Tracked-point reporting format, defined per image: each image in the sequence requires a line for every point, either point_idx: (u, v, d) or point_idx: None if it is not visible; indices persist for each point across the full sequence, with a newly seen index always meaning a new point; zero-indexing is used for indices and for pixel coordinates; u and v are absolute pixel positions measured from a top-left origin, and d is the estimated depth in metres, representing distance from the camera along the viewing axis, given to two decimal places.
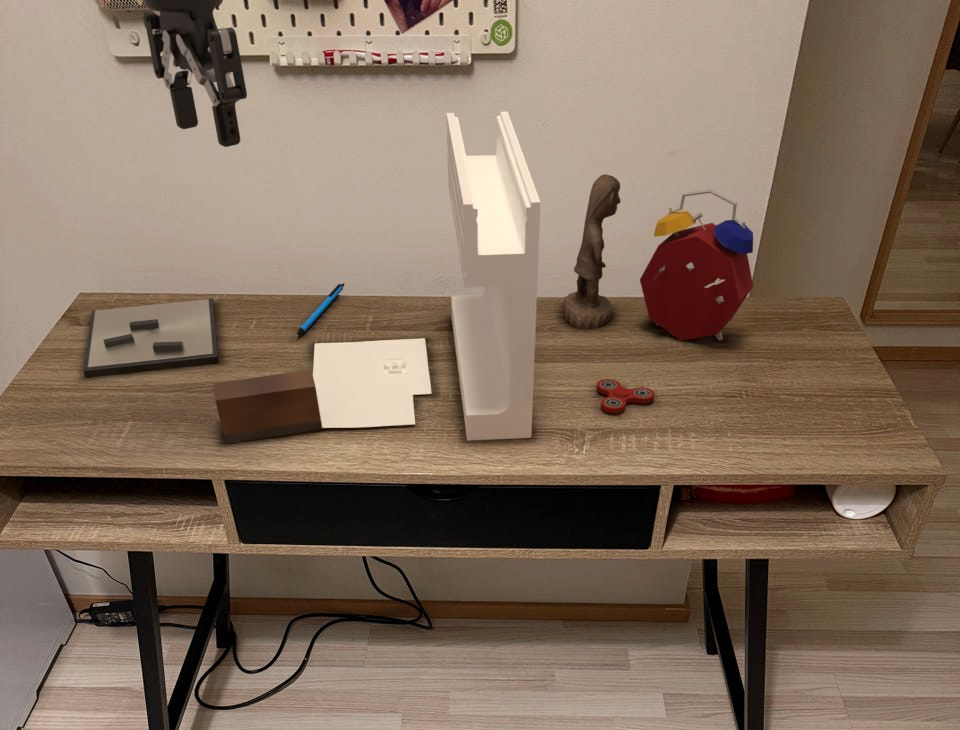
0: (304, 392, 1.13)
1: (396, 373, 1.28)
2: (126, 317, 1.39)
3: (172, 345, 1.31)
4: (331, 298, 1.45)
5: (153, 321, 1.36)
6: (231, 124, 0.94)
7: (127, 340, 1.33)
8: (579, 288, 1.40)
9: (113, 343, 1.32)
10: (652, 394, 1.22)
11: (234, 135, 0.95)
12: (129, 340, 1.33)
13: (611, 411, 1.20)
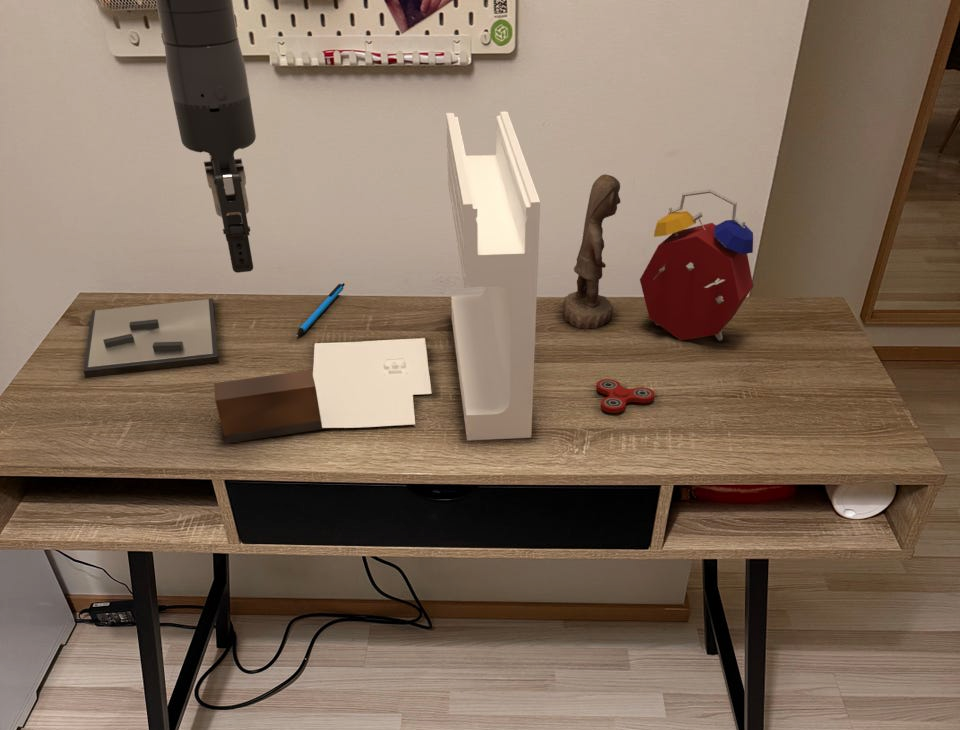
0: (304, 392, 1.14)
1: (396, 373, 1.28)
2: (126, 317, 1.39)
3: (172, 345, 1.31)
4: (331, 298, 1.45)
5: (153, 321, 1.36)
6: (240, 254, 0.99)
7: (127, 340, 1.33)
8: (579, 288, 1.40)
9: (113, 343, 1.32)
10: (652, 394, 1.22)
11: (243, 264, 1.00)
12: (129, 340, 1.33)
13: (611, 411, 1.20)
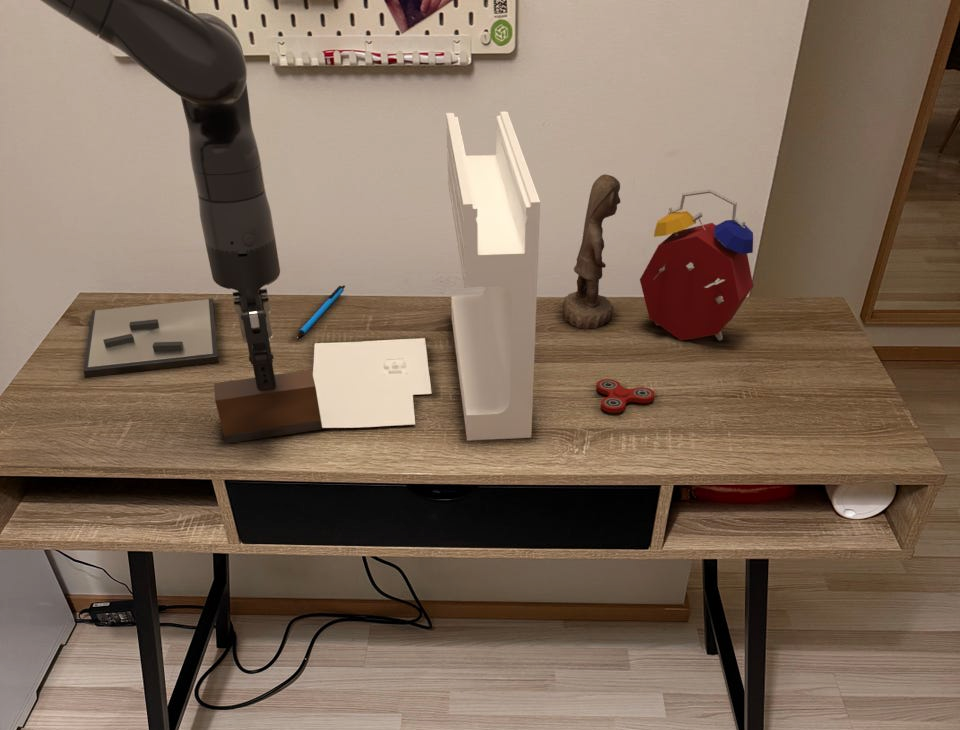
0: (304, 392, 1.13)
1: (396, 373, 1.28)
2: (126, 317, 1.39)
3: (172, 345, 1.31)
4: (331, 300, 1.45)
5: (153, 321, 1.36)
6: (264, 376, 1.08)
7: (127, 340, 1.33)
8: (579, 288, 1.40)
9: (113, 343, 1.32)
10: (652, 394, 1.22)
11: (266, 385, 1.09)
12: (129, 340, 1.33)
13: (611, 411, 1.20)
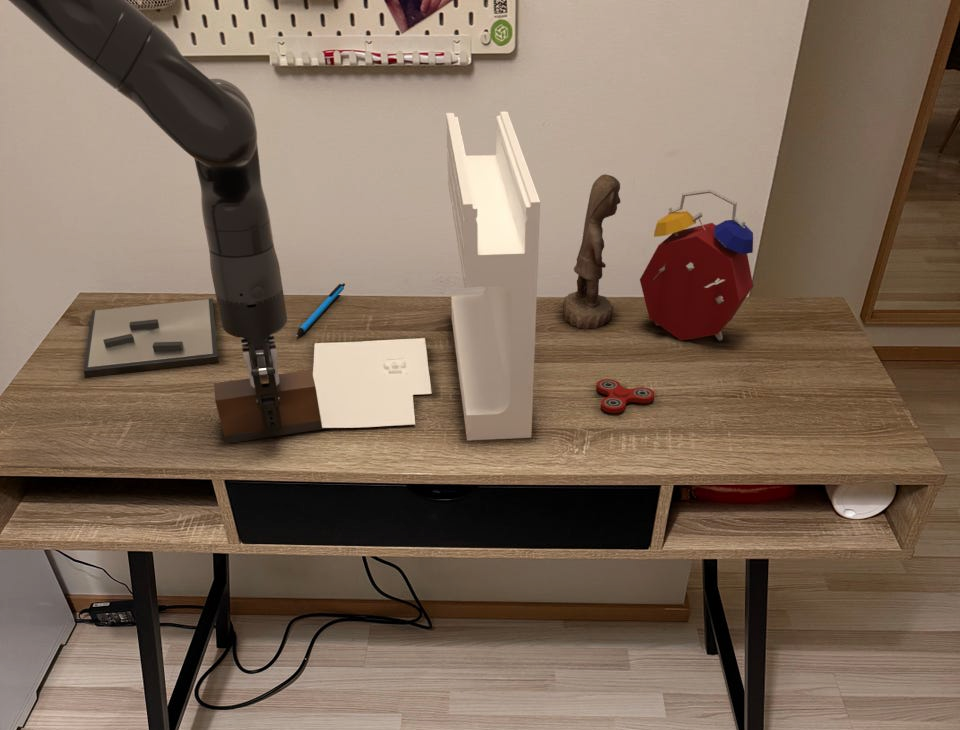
0: (304, 392, 1.13)
1: (396, 373, 1.28)
2: (126, 317, 1.39)
3: (172, 345, 1.31)
4: (331, 298, 1.45)
5: (153, 321, 1.36)
6: (271, 419, 1.13)
7: (127, 340, 1.33)
8: (579, 288, 1.40)
9: (113, 343, 1.32)
10: (652, 394, 1.22)
11: (273, 427, 1.14)
12: (129, 340, 1.33)
13: (611, 411, 1.20)
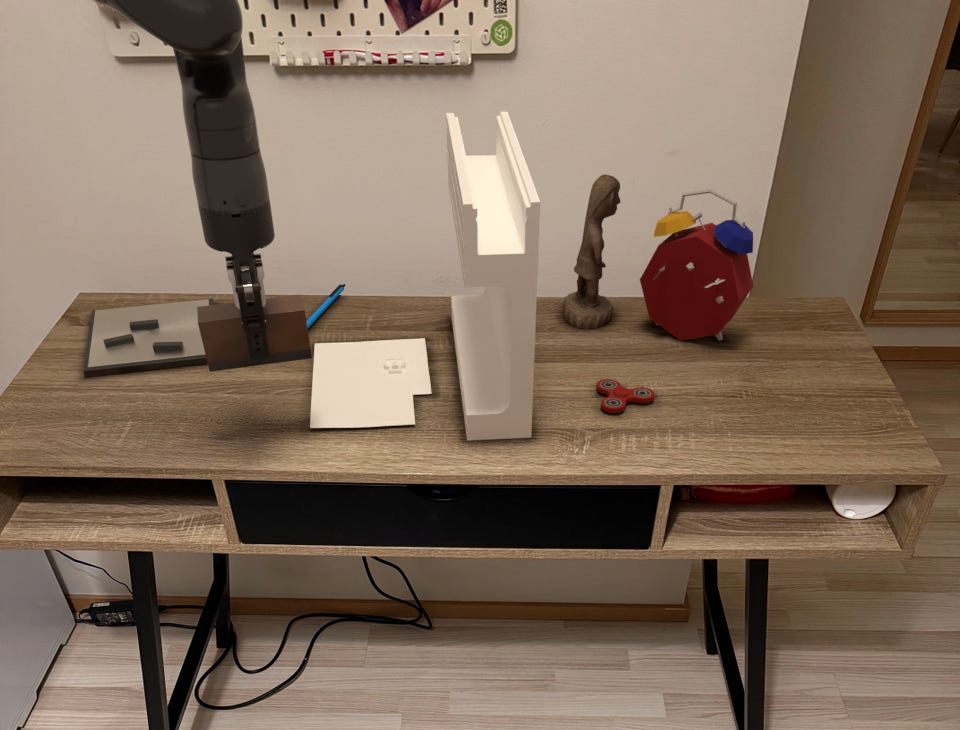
0: (293, 317, 1.07)
1: (396, 373, 1.28)
2: (126, 317, 1.39)
3: (172, 345, 1.31)
4: (332, 299, 1.45)
5: (153, 321, 1.36)
6: (257, 344, 1.07)
7: (127, 340, 1.33)
8: (579, 288, 1.40)
9: (113, 343, 1.32)
10: (652, 394, 1.22)
11: (259, 353, 1.07)
12: (129, 340, 1.33)
13: (611, 411, 1.20)
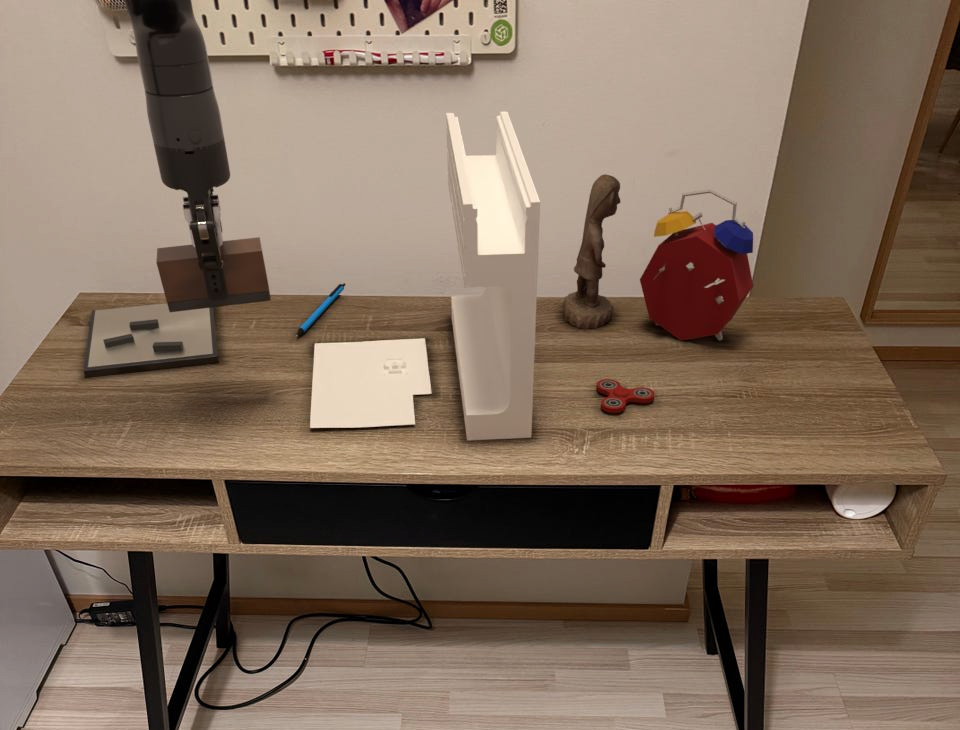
0: (250, 257, 1.09)
1: (396, 373, 1.28)
2: (126, 317, 1.39)
3: (172, 345, 1.31)
4: (332, 298, 1.45)
5: (153, 321, 1.36)
6: (215, 284, 1.09)
7: (127, 340, 1.33)
8: (579, 288, 1.40)
9: (113, 343, 1.32)
10: (652, 394, 1.22)
11: (217, 293, 1.10)
12: (129, 340, 1.33)
13: (611, 411, 1.20)
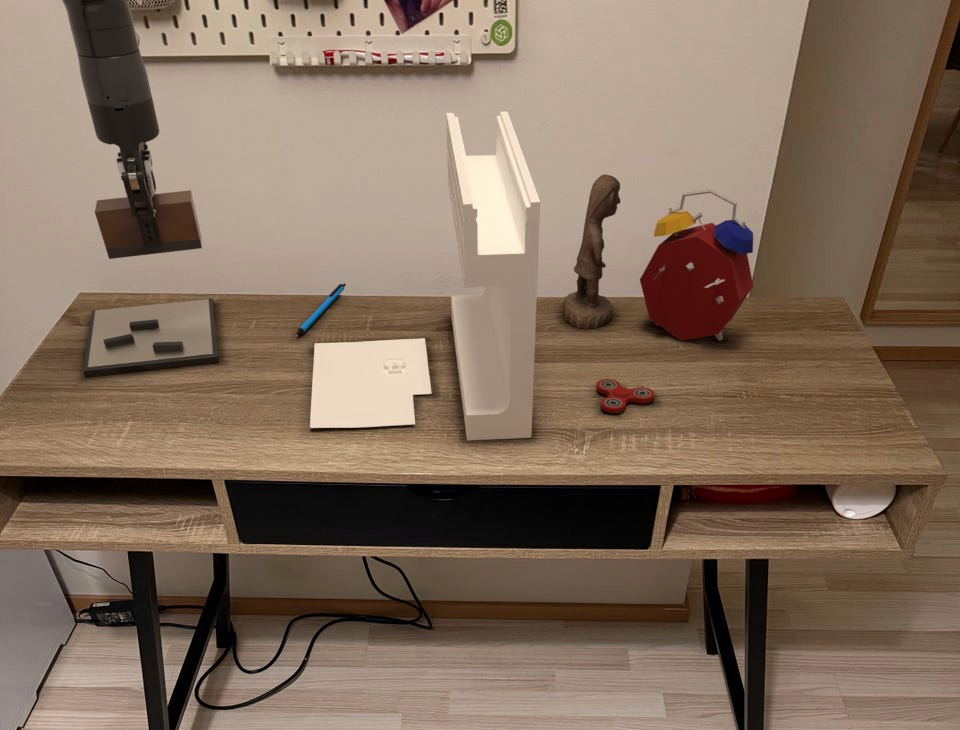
0: (180, 208, 1.20)
1: (396, 373, 1.28)
2: (126, 317, 1.39)
3: (172, 345, 1.31)
4: (332, 298, 1.45)
5: (153, 321, 1.36)
6: (149, 232, 1.20)
7: (127, 340, 1.33)
8: (579, 288, 1.40)
9: (113, 343, 1.32)
10: (652, 394, 1.22)
11: (151, 241, 1.21)
12: (129, 340, 1.33)
13: (611, 411, 1.20)
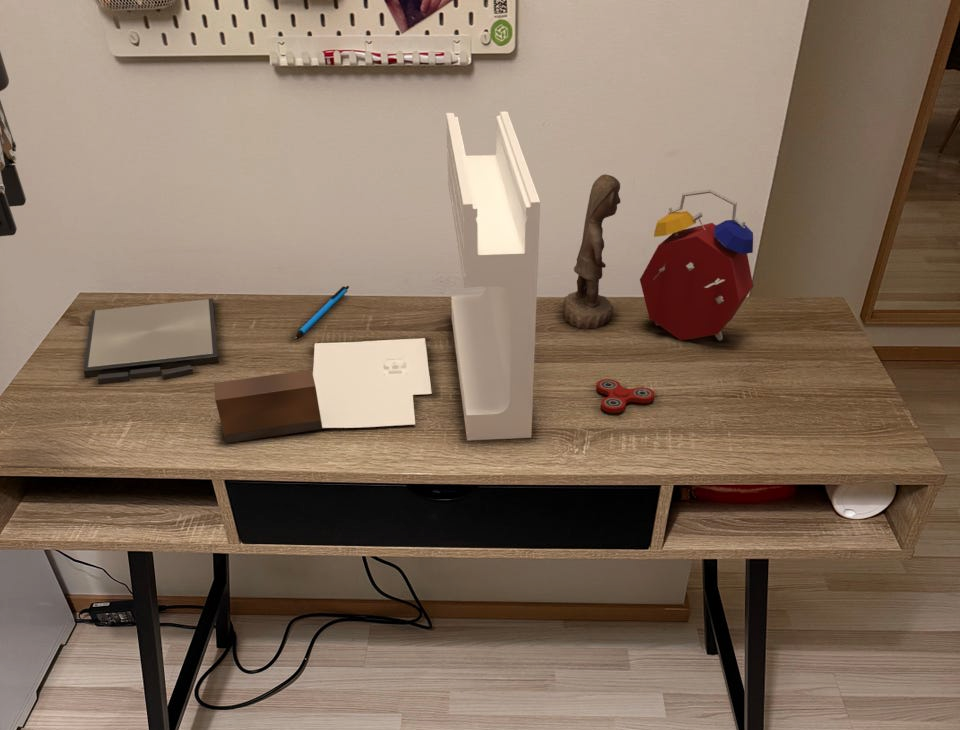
0: (304, 392, 1.14)
1: (396, 373, 1.28)
2: (126, 317, 1.39)
3: None
4: (334, 300, 1.45)
5: None
6: None
7: None
8: (579, 288, 1.40)
9: None
10: (652, 394, 1.22)
11: (1, 227, 0.89)
12: None
13: (611, 411, 1.20)
